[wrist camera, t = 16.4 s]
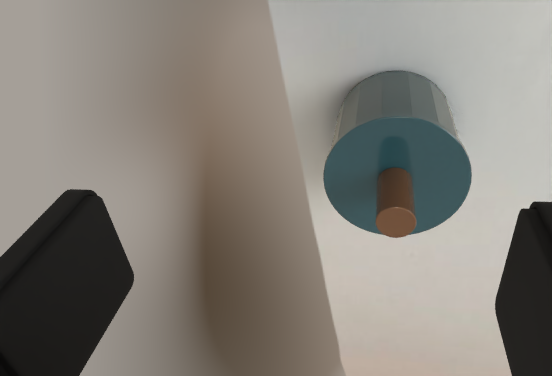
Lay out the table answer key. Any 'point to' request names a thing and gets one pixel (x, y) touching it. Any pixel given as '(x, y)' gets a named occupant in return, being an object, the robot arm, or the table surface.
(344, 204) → the lid
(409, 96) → the pot
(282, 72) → the table surface
